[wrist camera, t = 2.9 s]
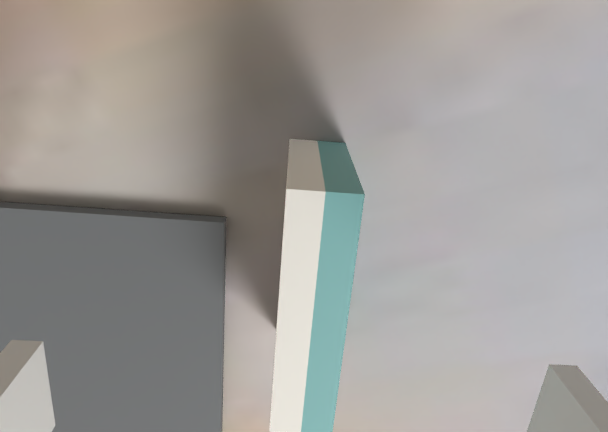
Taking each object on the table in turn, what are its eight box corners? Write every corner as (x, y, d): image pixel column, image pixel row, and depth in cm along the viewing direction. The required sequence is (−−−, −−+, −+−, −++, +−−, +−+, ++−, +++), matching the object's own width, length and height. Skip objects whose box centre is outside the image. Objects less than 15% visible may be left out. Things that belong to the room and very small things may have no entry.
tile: (289, 138, 19) (286, 188, 13) (344, 142, 19) (364, 194, 13) (276, 328, 22) (269, 431, 17) (323, 331, 22) (332, 434, 17)
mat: (-122, 193, 19) (-134, 198, 19) (226, 217, 20) (224, 222, 20) (-30, 527, 27) (-37, 537, 27) (219, 537, 28) (218, 547, 27)
